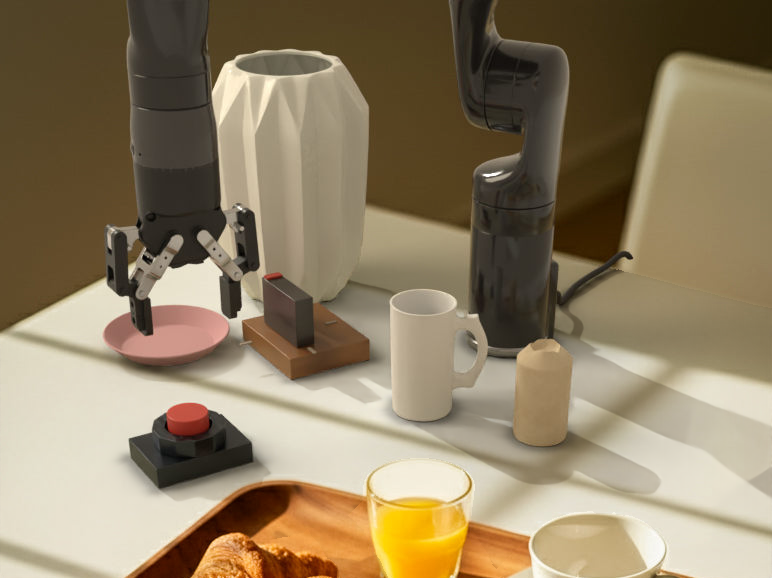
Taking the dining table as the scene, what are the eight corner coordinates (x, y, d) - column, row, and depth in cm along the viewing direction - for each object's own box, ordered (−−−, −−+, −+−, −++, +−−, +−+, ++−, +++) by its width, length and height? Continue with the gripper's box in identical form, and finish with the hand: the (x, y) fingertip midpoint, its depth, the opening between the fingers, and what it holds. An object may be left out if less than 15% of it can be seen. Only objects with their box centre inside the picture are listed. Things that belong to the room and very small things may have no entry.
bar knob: (314, 343, 149) (313, 295, 146) (297, 348, 148) (295, 299, 145) (281, 318, 155) (278, 271, 152) (264, 322, 154) (261, 274, 151)
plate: (83, 365, 150) (81, 348, 149) (135, 314, 162) (133, 299, 160) (204, 379, 147) (202, 363, 146) (248, 327, 159) (247, 311, 158)
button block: (222, 432, 137) (220, 397, 135) (253, 462, 132) (251, 426, 130) (130, 457, 133) (126, 422, 131) (158, 489, 128) (154, 452, 126)
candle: (563, 449, 135) (570, 358, 129) (509, 444, 136) (514, 353, 130) (569, 424, 139) (576, 335, 134) (516, 418, 140) (521, 330, 135)
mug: (385, 421, 140) (385, 313, 133) (393, 391, 145) (393, 287, 139) (482, 427, 139) (487, 319, 132) (486, 397, 144) (491, 292, 138)
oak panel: (318, 321, 160) (317, 300, 159) (370, 359, 152) (370, 338, 150) (218, 345, 155) (216, 324, 153) (266, 387, 146) (264, 364, 145)
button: (199, 414, 133) (197, 398, 132) (216, 431, 130) (215, 415, 129) (161, 424, 131) (159, 408, 130) (178, 441, 128) (176, 425, 127)
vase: (404, 291, 168) (405, 64, 153) (282, 336, 157) (270, 96, 142) (305, 249, 180) (296, 34, 164) (184, 287, 169) (163, 61, 153)
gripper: (114, 175, 113) (132, 354, 121) (267, 152, 119) (274, 323, 128) (82, 152, 118) (102, 325, 127) (231, 131, 125) (239, 297, 133)
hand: (188, 324), depth 127 cm, fingers open, 8 cm apart
